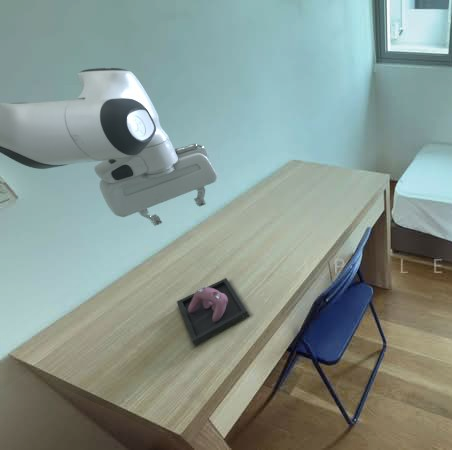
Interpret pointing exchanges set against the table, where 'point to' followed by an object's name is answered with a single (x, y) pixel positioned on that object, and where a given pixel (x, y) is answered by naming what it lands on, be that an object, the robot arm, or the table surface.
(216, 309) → the video game controller
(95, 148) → the robot arm
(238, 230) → the table surface
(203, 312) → the black rectangular tray
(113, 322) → the table surface
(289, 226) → the table surface
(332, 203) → the table surface
